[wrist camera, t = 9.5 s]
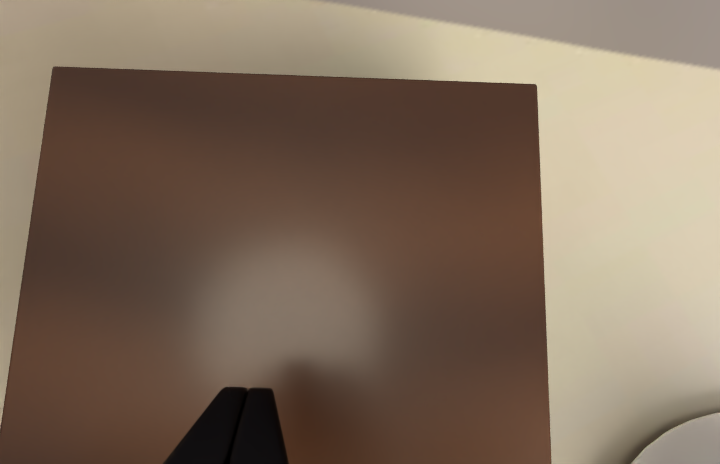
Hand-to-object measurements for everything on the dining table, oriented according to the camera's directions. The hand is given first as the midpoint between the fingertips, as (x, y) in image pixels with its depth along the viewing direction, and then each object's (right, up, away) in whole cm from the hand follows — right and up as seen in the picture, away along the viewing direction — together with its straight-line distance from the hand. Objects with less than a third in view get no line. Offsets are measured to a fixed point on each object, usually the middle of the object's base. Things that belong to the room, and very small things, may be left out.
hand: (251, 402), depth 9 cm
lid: (0, +1, +5) cm, 5 cm away
